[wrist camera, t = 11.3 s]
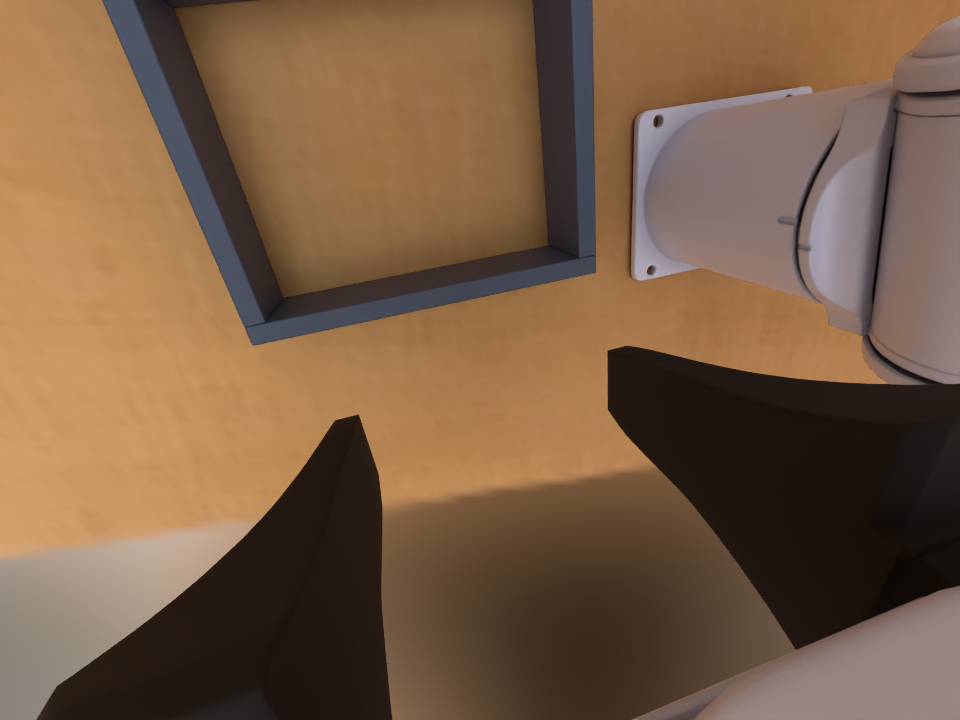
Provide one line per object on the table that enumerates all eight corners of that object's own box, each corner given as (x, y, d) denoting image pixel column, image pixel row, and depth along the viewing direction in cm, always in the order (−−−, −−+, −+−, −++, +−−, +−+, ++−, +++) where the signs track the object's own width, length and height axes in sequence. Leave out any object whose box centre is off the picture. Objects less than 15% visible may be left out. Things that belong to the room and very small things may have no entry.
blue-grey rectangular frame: (548, -55, 16) (591, -110, 13) (564, 257, 21) (596, 272, 18) (137, -20, 14) (68, -76, 10) (271, 317, 19) (252, 346, 16)
